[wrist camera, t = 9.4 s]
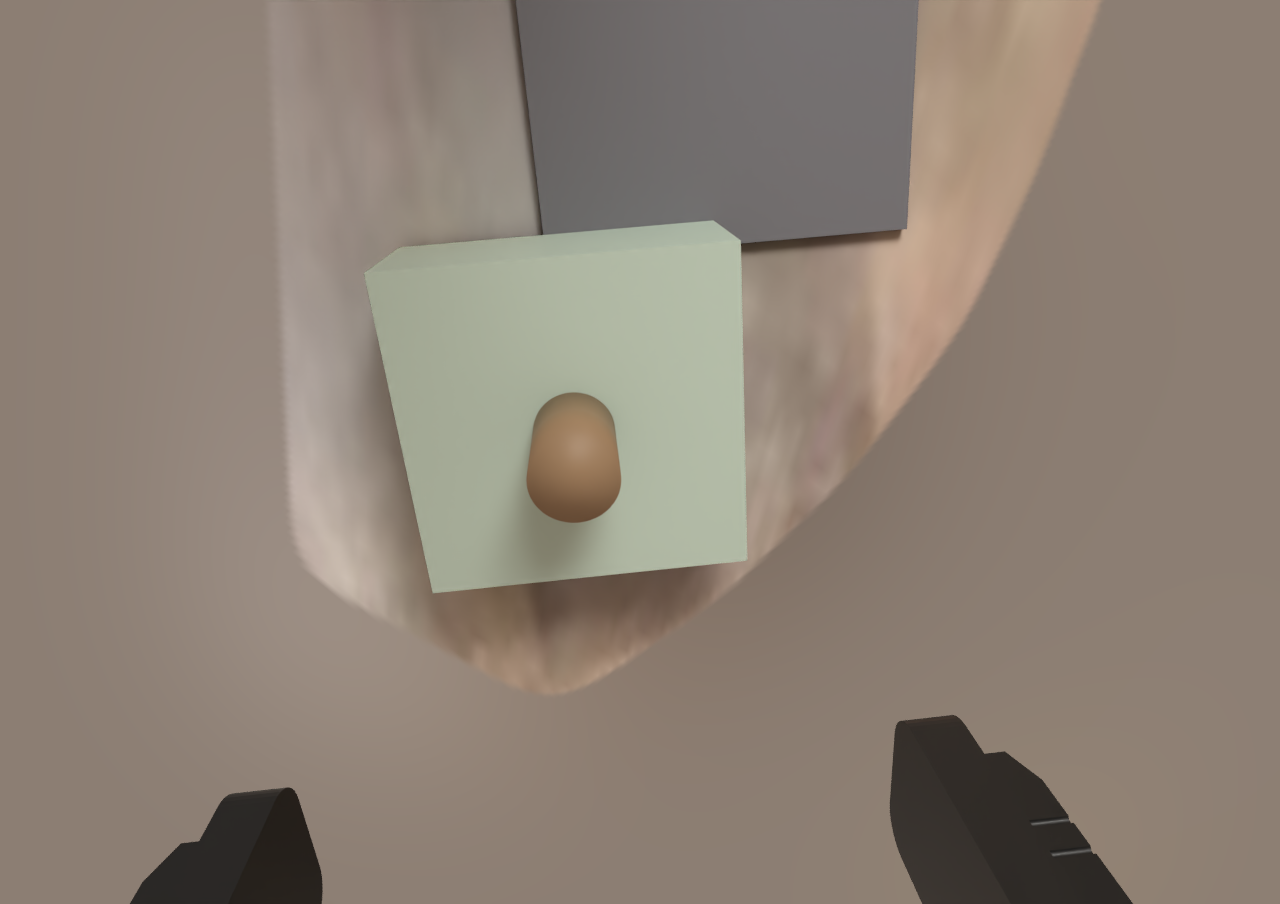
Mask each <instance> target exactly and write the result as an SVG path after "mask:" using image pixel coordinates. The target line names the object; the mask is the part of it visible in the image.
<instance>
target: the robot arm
mask: <svg viewBox="0 0 1280 904" xmlns="http://www.w3.org/2000/svg"><path fill="white" fill-rule="evenodd" d="M891 782H892V783H891V795H890V816H891V822H892V828H893V833H894V837H895V841H896V844H897V847H898V850H899V853H900V855H901V858H902V860H903V862H904V864H905V867H906V869H907V871H908V873H909V875H910V878H911V880H912V882H913V884H914V886H915V889H916V891H917V893H918V895H919V897H920V899H921V902H922V904H1133V903H1132V902H1131V900H1130V899H1129V898H1128V896H1127V895H1126V894H1125V892H1124V891H1123V889H1122V888H1121V887H1120V885H1119V884H1118V883H1117V882H1116V880H1115V879H1114V877H1113V876H1112V875H1111V873H1110V872H1109V871H1108V869H1107V868H1106V866H1105V865H1104V864H1103V862H1102V861H1101V859H1100V858H1099V857H1098V856H1097V854H1093V853H1092V851H1091V847H1090V844H1089V843H1088V842H1087V840H1086V839H1085V838H1084V836H1083V835H1082V834H1081V832H1080V831H1079V830H1078V828H1077V827H1076V825H1075V824H1074V823H1070V821H1069V818H1068V814H1067V813H1066V812H1065V810H1064V809H1063V808H1062V806H1061V805H1060V803H1059V802H1058V801H1057V799H1056V798H1055V797H1054V795H1053V794H1052V793H1051V791H1050V790H1049V788H1048V787H1047V786H1046V784H1045V783H1044V782H1043V780H1042V779H1040V778H1039V777H1038V776H1036V775H1035V774H1034V773H1032V772H1031V771H1030V770H1028V769H1027V768H1026V767H1024V766H1023V765H1022V764H1021V763H1019V762H1018V761H1017V760H1015V759H1014V758H1012V757H1011V756H1010V755H1009V754H1007V753H1006V752H997V753H988V754H984V753H983V751H982V750H981V748H980V747H979V745H978V744H977V742H976V741H975V739H974V738H973V736H972V735H971V733H970V732H969V730H968V729H967V727H966V726H965V724H964V723H963V722H962V721H961V720H960V719H959V718H958V717H957V716H954V715H950V716H941V717H932V718H923V719H914V720H905V721H899V722H898V723H897V725H896V729H895V738H894V752H893V766H892V781H891ZM130 904H322V876H321V870H320V866H319V863H318V859H317V857H316V853H315V850H314V847H313V843H312V840H311V838H310V834H309V831H308V828H307V825H306V822H305V818H304V815H303V812H302V809H301V805H300V802H299V799H298V796H297V794H296V793H295V791H294V790H293V789H292V788H280V789H270V790H261V791H253V792H243V793H234V794H230V795H228V796H226V797H225V798H224V799H223V800H222V801H221V803H220V804H219V806H218V808H217V809H216V811H215V813H214V815H213V817H212V819H211V821H210V823H209V824H208V826H207V828H206V830H205V832H204V833H203V835H202V837H201V839H200V841H198V842H190V843H182V844H180V845H179V846H178V847H177V848H176V849H175V850H174V851H173V852H172V853H171V854H170V855H169V856H168V857H167V858H166V859H165V860H164V861H163V862H162V863H161V864H160V865H159V866H158V867H157V868H156V869H155V870H154V871H153V872H152V873H151V874H150V875H149V876H148V877H147V878H146V879H145V880H144V881H143V882H142V884H141V886H140V888H139V889H138V891H137V893H136V894H135V896H134V898H133V899H132V901H131V903H130Z"/></svg>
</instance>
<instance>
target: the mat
mask: <svg viewBox="0 0 1280 904" xmlns="http://www.w3.org/2000/svg"><path fill="white" fill-rule="evenodd" d="M918 1H919V0H516V8H517V16H518V25H519V33H520V42H521V50H522V59H523V67H524V76H525V84H526V93H527V101H528V110H529V118H530V127H531V135H532V144H533V152H534V161H535V169H536V178H537V186H538V194H539V203H540V211H541V220H542V228H543V235H548V234H560V233H572V232H583V231H595V230H607V229H618V228H630V227H641V226H653V225H665V224H676V223H688V222H700V221H711V220H714V221H715V222H716V223H718V224H719V225H720V226H722V227H723V228H725V229H726V230H727V231H729V232H730V233H731V234H733V235H734V236H735V237H737V238H738V239H740V240H741V243H751V242H763V241H774V240H785V239H797V238H808V237H820V236H831V235H843V234H854V233H866V232H877V231H889V230H900V229H907V217H908V197H909V177H910V158H911V138H912V118H913V99H914V79H915V60H916V40H917V20H918Z"/></svg>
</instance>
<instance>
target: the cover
mask: <svg viewBox="0 0 1280 904" xmlns="http://www.w3.org/2000/svg"><path fill="white" fill-rule="evenodd" d="M364 277H365V281H366V286H367V291H368V295H369V300H370V305H371V309H372V314H373V319H374V323H375V328H376V333H377V337H378V342H379V346H380V351H381V356H382V360H383V365H384V370H385V374H386V379H387V384H388V388H389V393H390V398H391V402H392V407H393V411H394V416H395V421H396V425H397V430H398V435H399V439H400V444H401V449H402V453H403V458H404V463H405V467H406V472H407V476H408V481H409V486H410V490H411V495H412V500H413V504H414V509H415V514H416V518H417V523H418V528H419V532H420V537H421V541H422V546H423V551H424V555H425V560H426V565H427V569H428V574H429V579H430V583H431V588H432V593H441V592H451V591H461V590H470V589H480V588H489V587H499V586H508V585H518V584H528V583H537V582H547V581H556V580H566V579H576V578H585V577H595V576H604V575H614V574H623V573H633V572H643V571H652V570H662V569H671V568H681V567H691V566H700V565H710V564H719V563H729V562H738V561H747V525H746V475H745V426H744V376H743V327H742V277H741V240H740V239H738V238H737V237H735V236H734V235H733V234H731V233H730V232H729V231H727V230H726V229H725V228H723V227H722V226H720V225H719V224H718V223H716V222H715V221H714V220H711V221H700V222H688V223H676V224H665V225H653V226H641V227H630V228H618V229H607V230H595V231H583V232H572V233H560V234H548V235H537V236H525V237H513V238H502V239H490V240H479V241H467V242H455V243H444V244H432V245H420V246H409V247H399V248H398V249H397V250H395V251H394V252H392V253H391V254H390V255H388V256H387V257H385V258H384V259H383V260H381V261H380V262H379V263H377V264H376V265H374V266H373V267H372V268H370V269H369V270H367V271H366V272H365V273H364Z"/></svg>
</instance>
